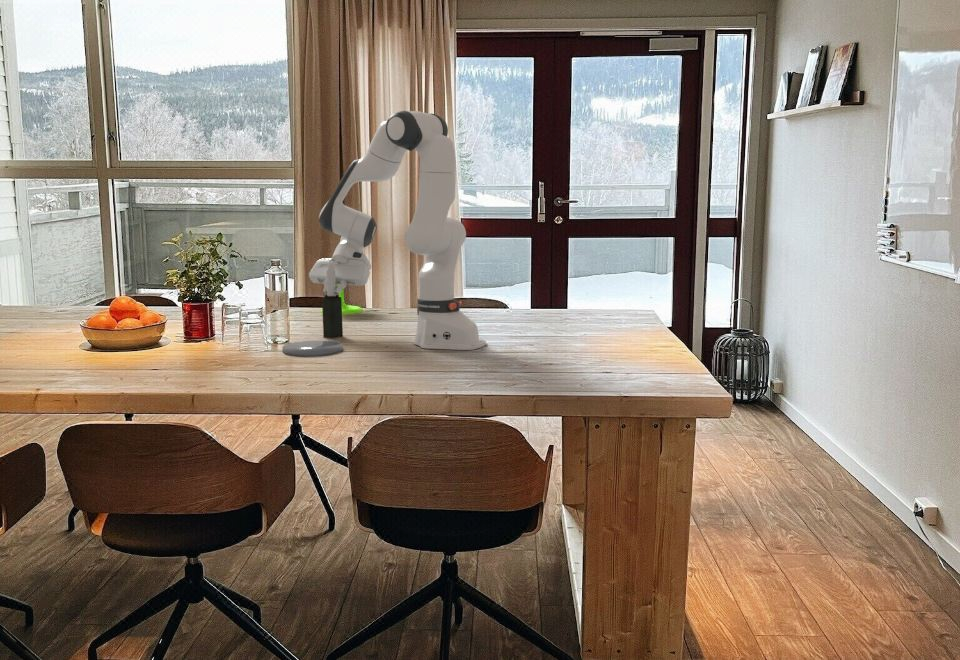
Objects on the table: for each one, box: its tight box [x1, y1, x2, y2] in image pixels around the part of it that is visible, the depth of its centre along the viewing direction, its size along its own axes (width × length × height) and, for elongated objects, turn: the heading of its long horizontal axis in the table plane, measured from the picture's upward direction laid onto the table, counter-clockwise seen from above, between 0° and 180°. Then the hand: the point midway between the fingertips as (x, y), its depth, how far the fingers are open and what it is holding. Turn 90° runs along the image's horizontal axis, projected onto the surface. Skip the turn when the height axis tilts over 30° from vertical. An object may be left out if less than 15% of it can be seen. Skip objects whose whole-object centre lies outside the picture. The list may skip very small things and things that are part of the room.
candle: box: [321, 260, 344, 339], centre depth 299 cm, size 5×5×25 cm
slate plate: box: [281, 340, 344, 357], centre depth 279 cm, size 18×18×1 cm
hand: (331, 292), depth 298 cm, fingers closed on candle, 2 cm apart
